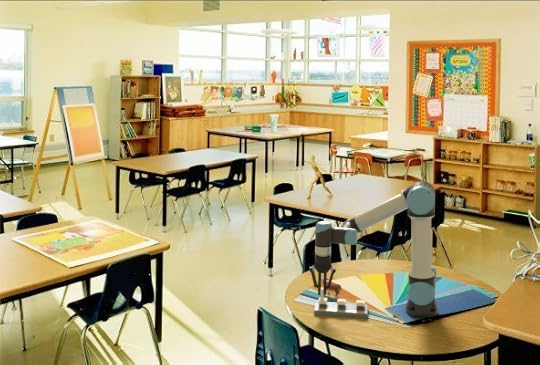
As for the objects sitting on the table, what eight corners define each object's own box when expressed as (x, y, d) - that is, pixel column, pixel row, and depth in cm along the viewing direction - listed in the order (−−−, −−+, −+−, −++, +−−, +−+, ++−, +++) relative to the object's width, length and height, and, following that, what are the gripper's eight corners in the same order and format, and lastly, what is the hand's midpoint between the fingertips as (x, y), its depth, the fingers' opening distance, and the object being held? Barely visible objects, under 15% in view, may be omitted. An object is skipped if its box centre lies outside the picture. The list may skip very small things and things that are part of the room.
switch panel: (367, 308, 287) (367, 301, 287) (367, 318, 276) (367, 311, 276) (316, 304, 292) (316, 298, 291) (314, 314, 281) (314, 307, 280)
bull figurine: (323, 290, 311) (323, 275, 309) (342, 297, 301) (342, 282, 300) (317, 292, 308) (317, 277, 306) (337, 299, 298) (337, 284, 297)
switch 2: (364, 302, 286) (364, 300, 286) (364, 306, 279) (364, 303, 279) (356, 302, 286) (356, 299, 286) (355, 305, 279) (356, 302, 279)
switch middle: (346, 301, 287) (346, 299, 287) (345, 304, 280) (345, 302, 280) (337, 301, 288) (337, 298, 288) (336, 304, 281) (336, 301, 281)
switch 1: (327, 300, 289) (327, 297, 289) (326, 304, 282) (326, 301, 282) (319, 299, 289) (319, 297, 289) (318, 303, 283) (318, 300, 283)
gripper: (337, 252, 280) (336, 299, 285) (310, 250, 283) (309, 297, 287) (336, 257, 273) (335, 305, 278) (308, 255, 275) (307, 303, 280)
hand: (321, 301), depth 282 cm, fingers closed
